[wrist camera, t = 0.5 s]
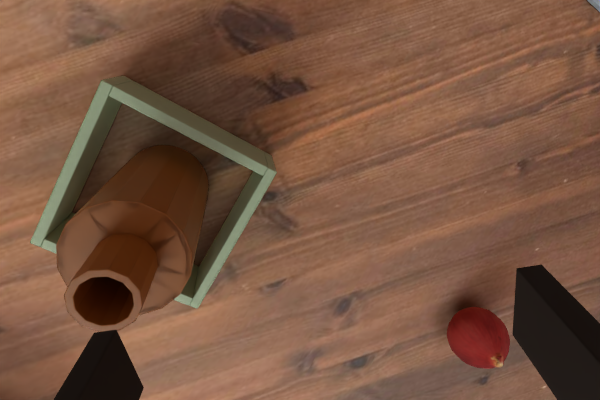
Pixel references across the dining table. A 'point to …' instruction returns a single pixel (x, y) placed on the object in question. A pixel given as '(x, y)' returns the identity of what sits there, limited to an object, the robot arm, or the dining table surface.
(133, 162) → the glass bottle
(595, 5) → the mat
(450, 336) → the onion
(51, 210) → the bin
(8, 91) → the dining table surface
